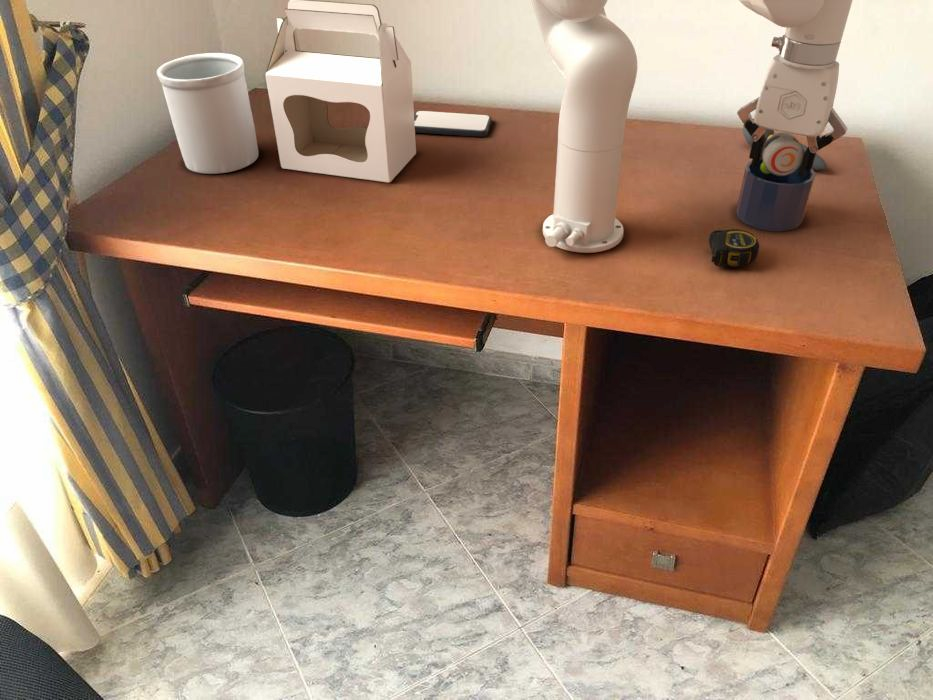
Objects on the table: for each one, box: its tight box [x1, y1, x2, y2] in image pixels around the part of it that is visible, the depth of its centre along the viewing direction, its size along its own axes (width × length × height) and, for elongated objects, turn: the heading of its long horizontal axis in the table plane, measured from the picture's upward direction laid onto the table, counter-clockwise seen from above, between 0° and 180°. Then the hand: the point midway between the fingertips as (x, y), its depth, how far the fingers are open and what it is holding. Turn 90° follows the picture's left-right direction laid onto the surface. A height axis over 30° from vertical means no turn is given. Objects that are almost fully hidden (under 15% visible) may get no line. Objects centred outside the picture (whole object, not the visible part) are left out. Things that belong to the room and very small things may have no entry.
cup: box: [735, 159, 816, 232], centre depth 124 cm, size 10×10×8 cm
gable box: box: [264, 0, 417, 184], centre depth 137 cm, size 22×13×28 cm, turn 72°
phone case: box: [414, 110, 493, 138], centre depth 158 cm, size 9×2×16 cm
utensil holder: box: [156, 52, 259, 175], centre depth 142 cm, size 15×15×18 cm
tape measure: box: [708, 228, 760, 268], centre depth 115 cm, size 7×7×4 cm
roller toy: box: [760, 132, 805, 176], centre depth 120 cm, size 4×6×6 cm
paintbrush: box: [742, 124, 828, 171], centre depth 144 cm, size 20×5×5 cm, turn 38°
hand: (778, 167), depth 122 cm, fingers closed on roller toy, 6 cm apart
